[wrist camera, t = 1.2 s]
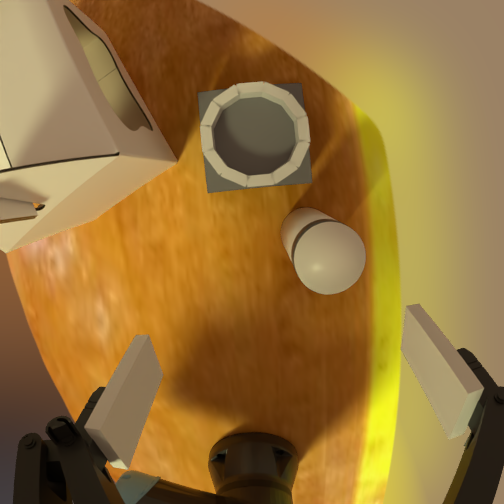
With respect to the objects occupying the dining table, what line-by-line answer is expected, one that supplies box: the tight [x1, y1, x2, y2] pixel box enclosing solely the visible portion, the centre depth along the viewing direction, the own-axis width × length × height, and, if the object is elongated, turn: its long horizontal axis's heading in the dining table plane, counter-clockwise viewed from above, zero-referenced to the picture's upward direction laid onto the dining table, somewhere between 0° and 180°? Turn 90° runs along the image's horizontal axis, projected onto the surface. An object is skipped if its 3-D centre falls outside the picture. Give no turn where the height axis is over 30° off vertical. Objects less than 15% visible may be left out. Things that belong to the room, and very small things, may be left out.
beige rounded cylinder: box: [281, 207, 366, 294], centre depth 31 cm, size 6×6×12 cm
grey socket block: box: [198, 81, 312, 193], centre depth 31 cm, size 10×10×8 cm
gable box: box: [0, 0, 177, 253], centre depth 20 cm, size 22×13×28 cm, turn 30°
